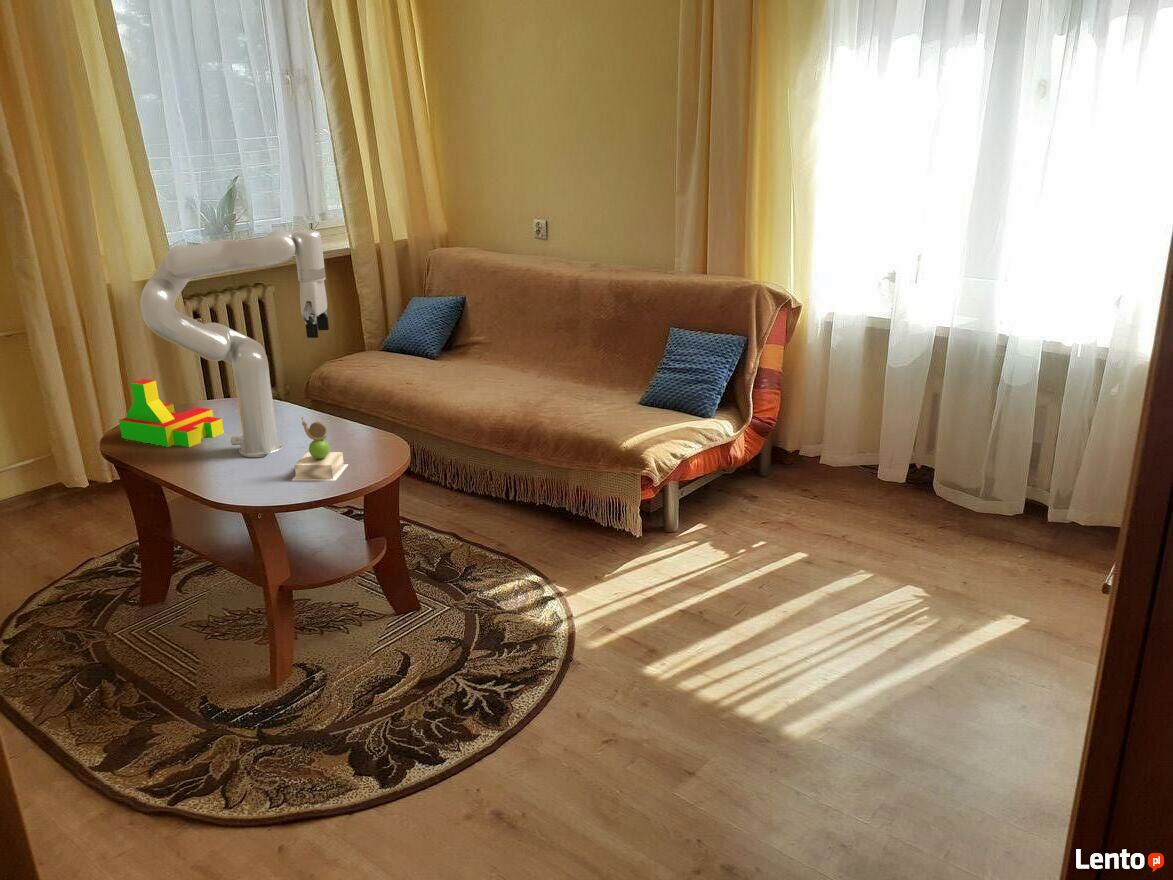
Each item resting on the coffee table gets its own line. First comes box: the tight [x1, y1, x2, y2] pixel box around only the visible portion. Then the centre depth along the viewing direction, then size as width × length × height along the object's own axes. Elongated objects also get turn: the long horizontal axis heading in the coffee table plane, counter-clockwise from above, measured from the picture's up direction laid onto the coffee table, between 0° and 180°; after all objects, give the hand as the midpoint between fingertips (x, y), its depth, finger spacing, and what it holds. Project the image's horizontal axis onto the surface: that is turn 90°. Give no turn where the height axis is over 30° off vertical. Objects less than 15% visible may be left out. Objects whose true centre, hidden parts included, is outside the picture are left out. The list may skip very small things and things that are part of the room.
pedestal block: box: [294, 451, 345, 479], centre depth 253 cm, size 10×10×4 cm
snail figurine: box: [301, 416, 331, 459], centre depth 250 cm, size 5×6×12 cm
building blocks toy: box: [118, 378, 225, 448], centre depth 286 cm, size 19×25×18 cm
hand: (318, 333), depth 269 cm, fingers open, 9 cm apart
